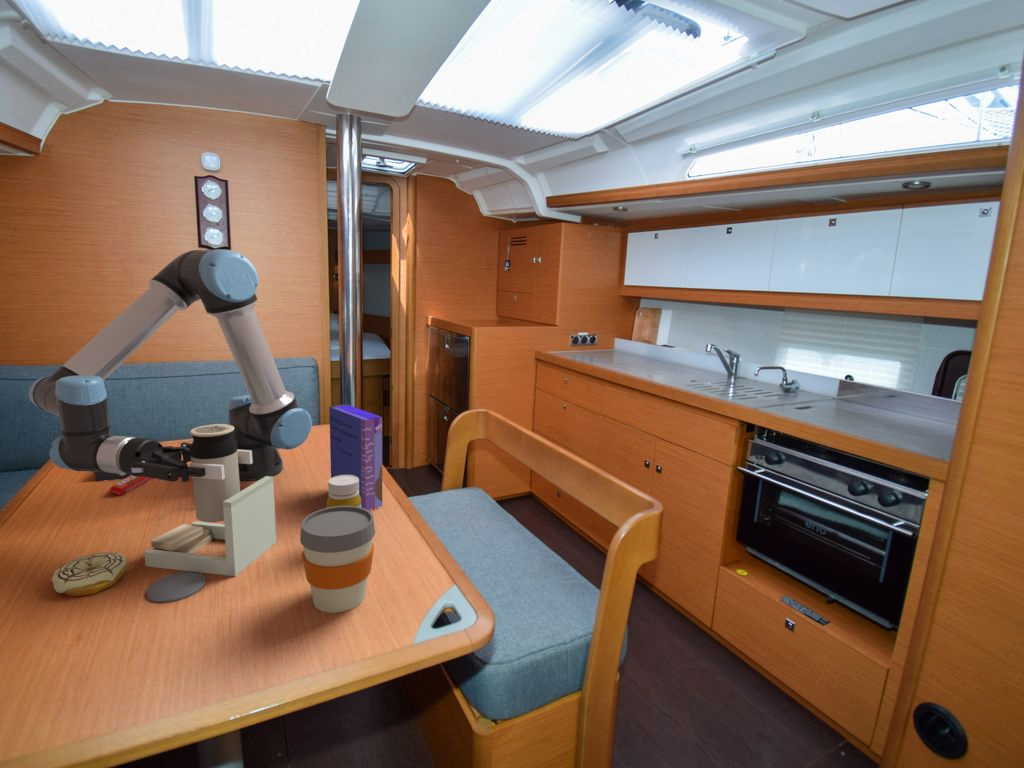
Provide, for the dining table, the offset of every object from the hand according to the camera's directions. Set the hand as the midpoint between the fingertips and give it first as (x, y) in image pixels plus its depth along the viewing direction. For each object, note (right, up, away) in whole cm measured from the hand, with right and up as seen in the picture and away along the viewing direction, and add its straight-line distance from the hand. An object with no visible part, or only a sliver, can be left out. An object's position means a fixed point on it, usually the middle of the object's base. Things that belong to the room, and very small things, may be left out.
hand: (237, 464), depth 100 cm
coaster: (-7, -21, -7) cm, 24 cm away
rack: (-7, -19, +4) cm, 21 cm away
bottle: (+18, -19, +10) cm, 28 cm away
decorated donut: (-23, -21, -7) cm, 32 cm away
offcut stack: (-14, -19, +5) cm, 24 cm away
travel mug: (-5, -11, +3) cm, 12 cm away
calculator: (-57, -10, +47) cm, 74 cm away
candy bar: (-47, -12, +37) cm, 61 cm away
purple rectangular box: (+13, -15, +34) cm, 39 cm away
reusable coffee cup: (+23, -23, -8) cm, 33 cm away
